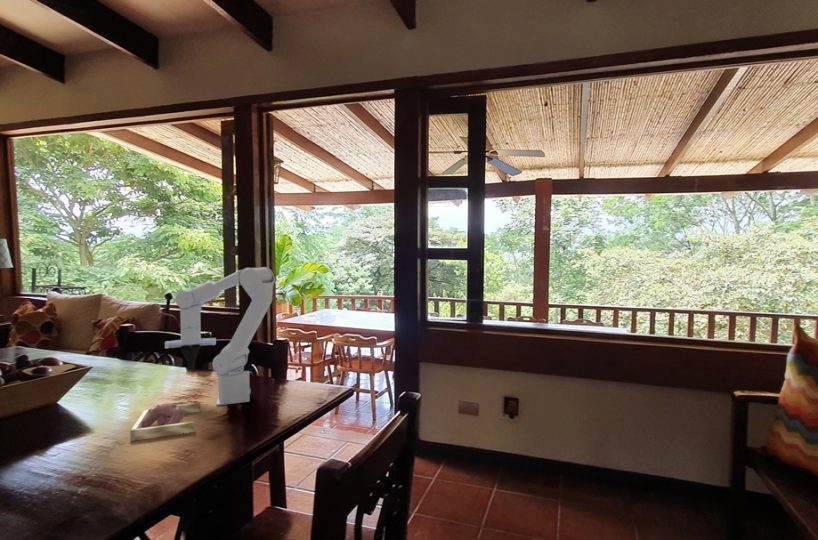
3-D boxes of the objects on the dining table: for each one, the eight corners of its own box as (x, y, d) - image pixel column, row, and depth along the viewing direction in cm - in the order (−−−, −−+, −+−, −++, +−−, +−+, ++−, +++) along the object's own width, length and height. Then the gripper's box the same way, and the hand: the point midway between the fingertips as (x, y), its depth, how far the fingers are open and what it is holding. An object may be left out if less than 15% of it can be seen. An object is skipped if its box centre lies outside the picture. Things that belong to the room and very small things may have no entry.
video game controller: (180, 434, 108) (190, 406, 111) (167, 433, 104) (177, 404, 107) (153, 429, 111) (163, 402, 114) (139, 427, 107) (149, 400, 110)
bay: (200, 410, 120) (200, 402, 120) (193, 432, 105) (193, 422, 105) (145, 417, 115) (145, 408, 115) (130, 441, 100) (130, 431, 100)
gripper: (216, 323, 137) (216, 363, 138) (167, 326, 132) (168, 367, 133) (214, 326, 131) (215, 368, 131) (163, 329, 126) (163, 373, 126)
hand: (191, 368), depth 132 cm, fingers closed
